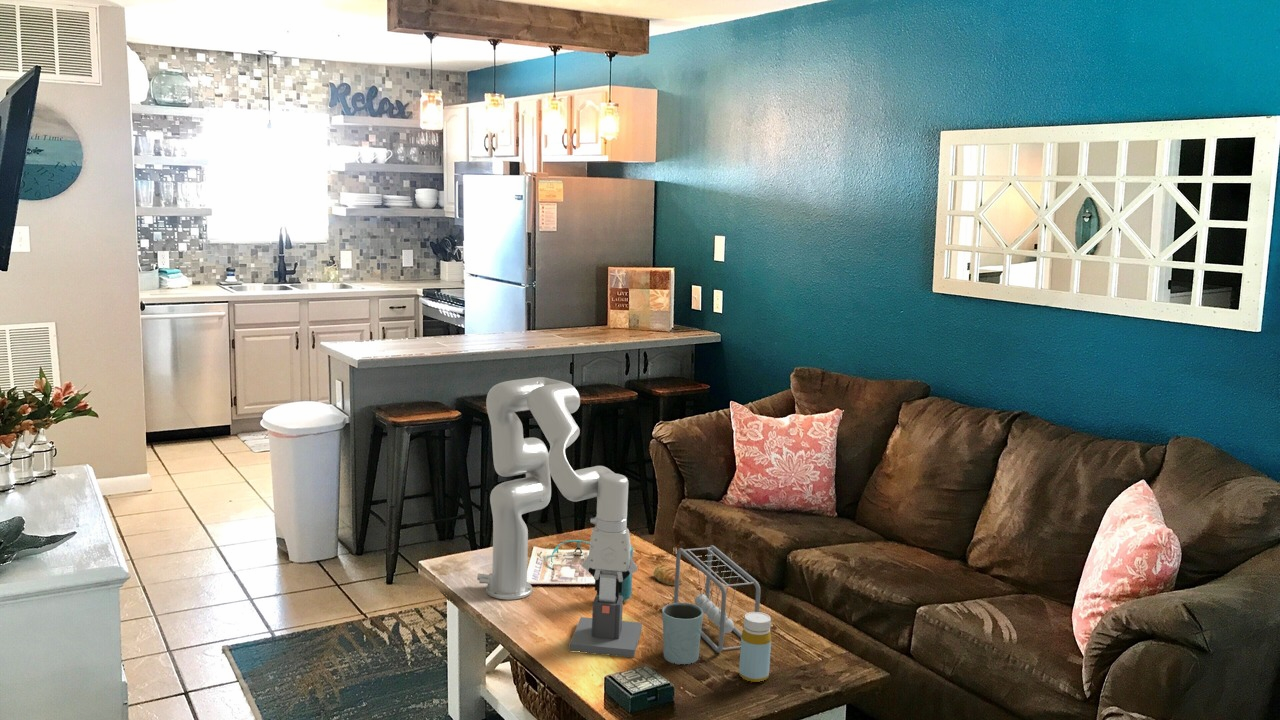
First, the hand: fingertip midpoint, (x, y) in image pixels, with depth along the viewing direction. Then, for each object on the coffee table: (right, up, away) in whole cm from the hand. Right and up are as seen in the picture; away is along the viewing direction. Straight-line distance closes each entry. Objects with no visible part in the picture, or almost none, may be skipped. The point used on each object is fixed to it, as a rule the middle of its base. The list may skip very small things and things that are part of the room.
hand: (608, 593), depth 262 cm
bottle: (+35, -17, -13) cm, 41 cm away
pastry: (+16, -6, +44) cm, 47 cm away
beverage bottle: (+2, -8, +27) cm, 28 cm away
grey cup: (+18, -15, -5) cm, 23 cm away
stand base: (-1, -12, +2) cm, 12 cm away
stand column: (0, -9, +2) cm, 9 cm away
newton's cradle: (+27, -12, +12) cm, 32 cm away
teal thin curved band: (-12, -3, +54) cm, 55 cm away
